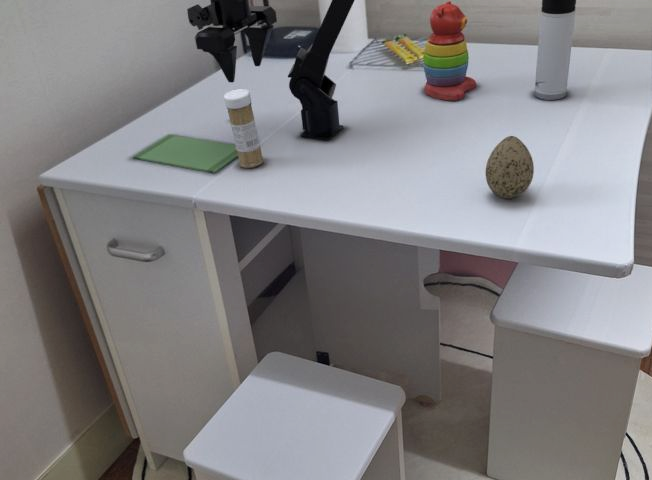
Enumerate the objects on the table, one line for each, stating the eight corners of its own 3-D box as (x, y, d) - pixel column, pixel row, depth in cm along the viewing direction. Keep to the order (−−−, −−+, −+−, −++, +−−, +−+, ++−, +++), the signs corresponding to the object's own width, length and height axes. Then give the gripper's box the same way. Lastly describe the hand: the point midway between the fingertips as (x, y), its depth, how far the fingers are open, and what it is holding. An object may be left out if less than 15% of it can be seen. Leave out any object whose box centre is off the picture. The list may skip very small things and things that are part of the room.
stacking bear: (459, 102, 142) (460, 12, 132) (414, 96, 147) (413, 9, 137) (479, 84, 150) (482, -2, 140) (436, 80, 155) (435, -4, 144)
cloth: (249, 148, 133) (248, 146, 133) (214, 173, 125) (214, 171, 125) (169, 136, 142) (168, 134, 141) (132, 158, 134) (132, 156, 134)
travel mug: (531, 100, 140) (540, -4, 128) (536, 88, 145) (544, -13, 133) (564, 101, 138) (575, -4, 126) (567, 90, 143) (579, -13, 131)
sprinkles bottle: (260, 155, 129) (245, 85, 121) (266, 164, 126) (252, 93, 118) (236, 161, 128) (220, 92, 121) (242, 171, 125) (226, 100, 117)
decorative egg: (477, 190, 111) (479, 132, 105) (518, 182, 112) (522, 124, 106) (496, 210, 105) (499, 150, 100) (539, 202, 106) (545, 141, 100)
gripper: (222, -26, 132) (236, 56, 141) (161, -2, 119) (181, 87, 128) (272, -26, 127) (283, 59, 136) (214, 0, 114) (230, 92, 123)
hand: (244, 73), depth 131 cm, fingers open, 9 cm apart
